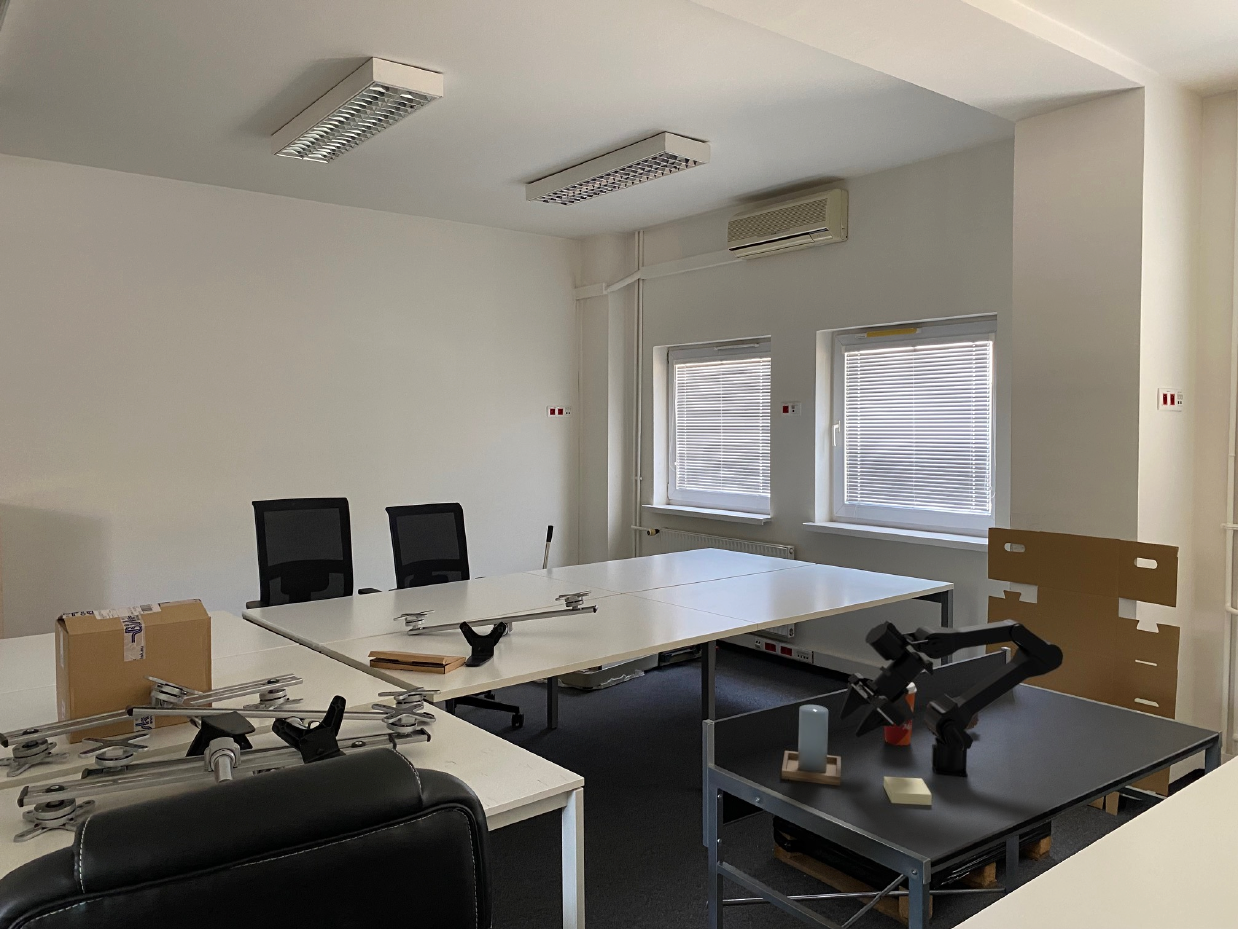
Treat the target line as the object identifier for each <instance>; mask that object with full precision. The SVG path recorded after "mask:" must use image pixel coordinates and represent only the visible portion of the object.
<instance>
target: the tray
mask: <svg viewBox="0 0 1238 929" xmlns="http://www.w3.org/2000/svg"><path fill="white" fill-rule="evenodd" d="M841 759H842V758H841V756H838V755H829V754H827V771H826V772H825V773H824V774H823V773H814V772H806V771H800V770H799V769H798V751H792V750H791V751H789V750H784V755H783V761H782V766H781V779H782V780H788V779H789V780H791V781H798V782H805V783H807V782H808V783H814V784H815V783H816V784H817V783H818V784H824V785H834V786H841V780H842V779H841V778H842V777H841V776H842V774H841V773H842V770H841V769H842V767H841V766H842V765H841V764H842V760H841Z"/></svg>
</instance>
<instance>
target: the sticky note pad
mask: <svg viewBox="0 0 1238 929" xmlns="http://www.w3.org/2000/svg"><path fill="white" fill-rule="evenodd" d="M883 788H884V790H885V792H886V794H887V796H888V798H889V801H890V802H891V804H907V805H923V806H924V805H925V806H927V805H928V806H931V805H932V793H931V791H930V789H929V788H928V786H927V784H926V783H925V781H924V780H923V778H916V777H915V778H914V777H901V776H900V777H898V776H897V777H896V776H895V777H894V776H883Z"/></svg>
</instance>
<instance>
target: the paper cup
mask: <svg viewBox="0 0 1238 929" xmlns="http://www.w3.org/2000/svg"><path fill="white" fill-rule="evenodd" d="M907 689H908V690H909V693H908V695H907V696H906V697H905V698H906V700H907V702H908V703H909V705H910V708H911V710H912V712H913V713H914V706H915V705H914V704H915V697H916V696H915V695H916V693H917V687H916V685H915V683H914V682H913V681H912V682H911V683H910V684H909V686H908V687H907ZM893 725H894V726H895V727H891V726H884V738H885V742H886V743H887V742H888V744H890V745H892V746H897V745H901V746H900V747H903V746H902V745H906V746H909V745H910V744H911V737H912V736H911V735H912V727H913V719H912V720H910V721H908V722H906V723H904V724H902V726H901V727H900V728H899V727H898V726H896V725H895V724H894V723H893Z"/></svg>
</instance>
